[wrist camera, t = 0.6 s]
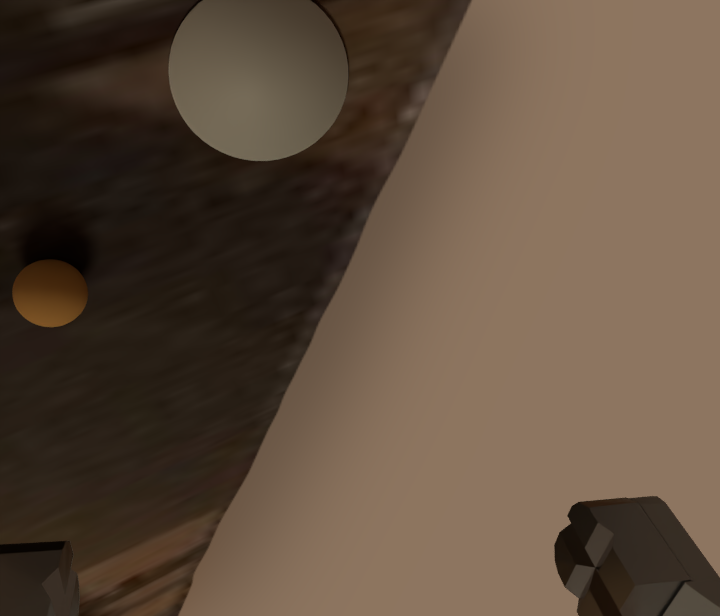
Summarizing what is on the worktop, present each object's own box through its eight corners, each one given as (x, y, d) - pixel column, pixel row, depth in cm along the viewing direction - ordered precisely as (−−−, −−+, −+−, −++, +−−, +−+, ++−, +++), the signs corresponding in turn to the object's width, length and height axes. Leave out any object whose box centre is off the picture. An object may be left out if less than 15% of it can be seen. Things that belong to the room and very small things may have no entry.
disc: (154, -19, 41) (154, -18, 40) (351, -18, 43) (352, -17, 43) (181, 163, 49) (181, 165, 49) (344, 155, 52) (345, 156, 51)
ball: (10, 248, 51) (-5, 291, 47) (83, 243, 52) (74, 284, 48) (30, 300, 54) (18, 344, 50) (97, 294, 55) (90, 337, 51)
